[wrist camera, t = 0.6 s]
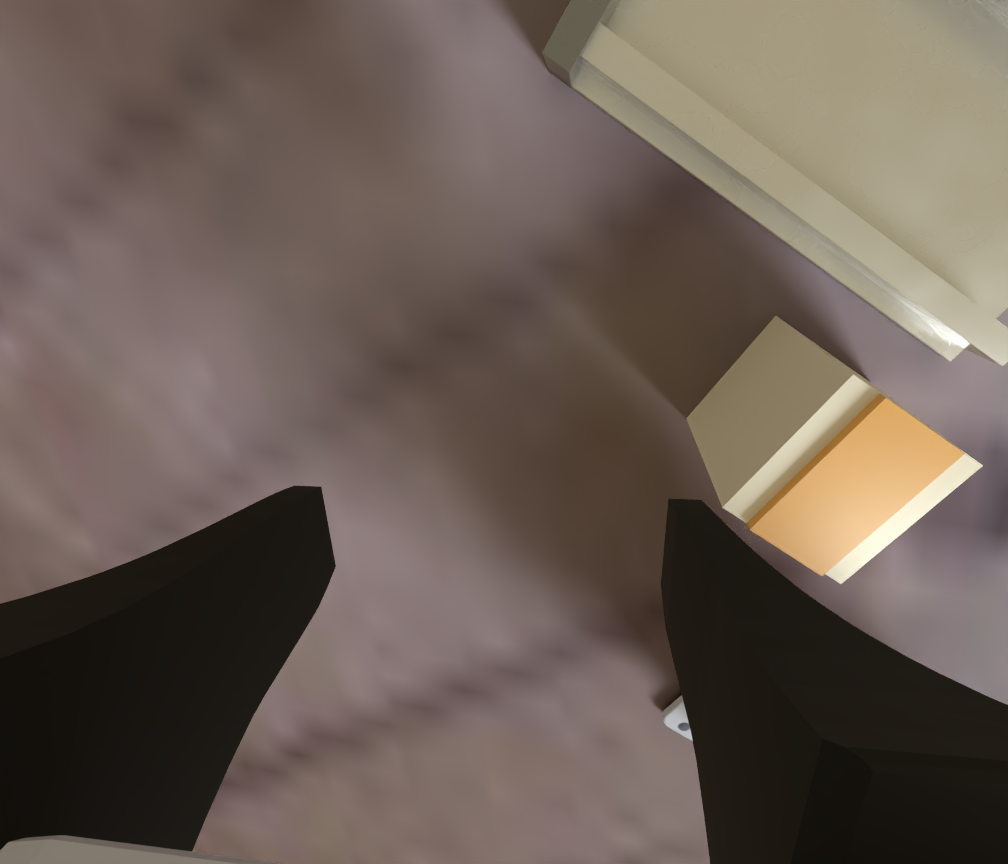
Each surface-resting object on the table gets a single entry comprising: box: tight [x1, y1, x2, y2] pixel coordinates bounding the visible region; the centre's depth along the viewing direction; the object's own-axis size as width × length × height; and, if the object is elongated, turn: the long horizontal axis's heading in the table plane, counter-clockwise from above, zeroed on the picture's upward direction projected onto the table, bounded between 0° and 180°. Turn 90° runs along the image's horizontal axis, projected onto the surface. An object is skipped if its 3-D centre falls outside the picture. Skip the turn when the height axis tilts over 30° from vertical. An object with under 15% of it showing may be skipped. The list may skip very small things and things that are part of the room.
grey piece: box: [542, 0, 1008, 366], centre depth 15 cm, size 15×8×3 cm, turn 58°
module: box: [686, 316, 983, 584], centre depth 17 cm, size 4×4×6 cm
